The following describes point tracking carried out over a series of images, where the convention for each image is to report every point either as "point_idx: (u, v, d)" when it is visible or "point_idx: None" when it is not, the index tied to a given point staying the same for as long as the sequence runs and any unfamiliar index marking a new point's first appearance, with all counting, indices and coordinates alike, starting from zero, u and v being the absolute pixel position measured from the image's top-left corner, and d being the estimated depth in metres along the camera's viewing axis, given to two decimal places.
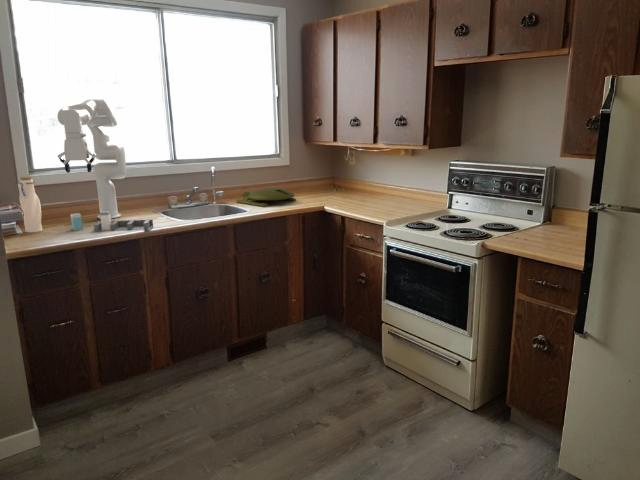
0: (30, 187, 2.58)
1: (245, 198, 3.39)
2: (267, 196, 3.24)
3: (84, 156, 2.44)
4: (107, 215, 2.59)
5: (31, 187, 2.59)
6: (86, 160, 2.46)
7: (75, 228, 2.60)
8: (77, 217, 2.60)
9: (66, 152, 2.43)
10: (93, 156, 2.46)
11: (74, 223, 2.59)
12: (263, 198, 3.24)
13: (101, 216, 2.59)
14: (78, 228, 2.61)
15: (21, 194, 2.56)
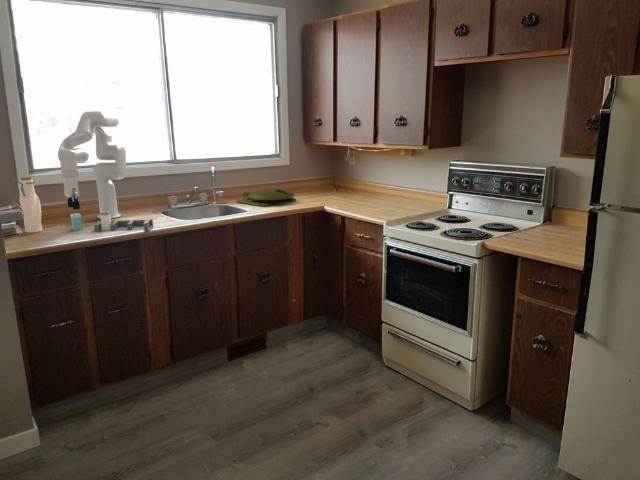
0: (30, 187, 2.58)
1: (245, 198, 3.39)
2: (266, 196, 3.24)
3: None
4: (107, 215, 2.59)
5: (31, 187, 2.59)
6: None
7: (75, 228, 2.60)
8: (77, 217, 2.60)
9: (78, 189, 2.56)
10: None
11: (74, 223, 2.59)
12: (263, 198, 3.24)
13: (101, 216, 2.59)
14: (78, 228, 2.61)
15: (21, 194, 2.56)
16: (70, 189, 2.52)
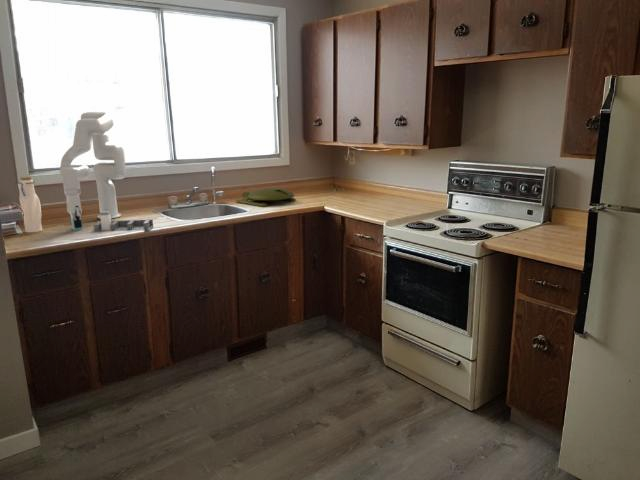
0: (30, 187, 2.58)
1: (245, 198, 3.39)
2: (266, 196, 3.24)
3: None
4: (107, 215, 2.59)
5: (31, 187, 2.59)
6: None
7: (75, 228, 2.60)
8: None
9: (80, 206, 2.58)
10: None
11: None
12: (262, 198, 3.24)
13: (101, 216, 2.59)
14: (78, 228, 2.61)
15: (21, 194, 2.56)
16: (73, 206, 2.55)
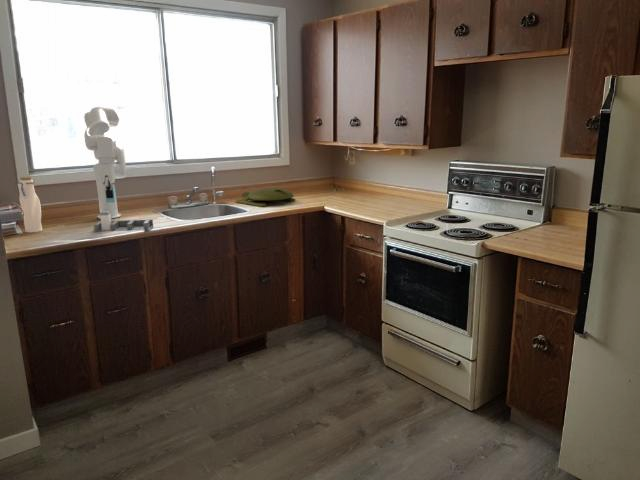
0: (30, 187, 2.58)
1: (244, 198, 3.38)
2: (265, 196, 3.24)
3: (114, 178, 2.62)
4: (107, 215, 2.59)
5: (31, 187, 2.59)
6: None
7: (107, 198, 2.58)
8: None
9: (111, 176, 2.54)
10: None
11: None
12: (262, 198, 3.24)
13: (101, 216, 2.59)
14: (110, 199, 2.58)
15: (21, 194, 2.56)
16: (102, 176, 2.52)
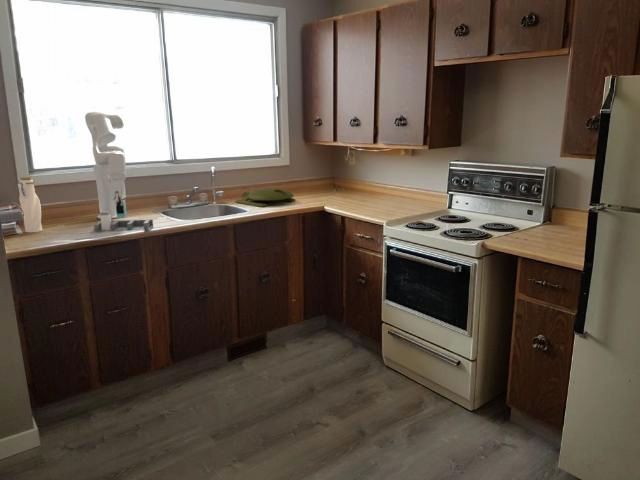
0: (30, 187, 2.58)
1: (244, 198, 3.38)
2: (265, 196, 3.24)
3: (125, 194, 2.64)
4: (107, 215, 2.59)
5: (31, 187, 2.59)
6: None
7: (117, 214, 2.60)
8: None
9: (121, 192, 2.56)
10: None
11: (116, 208, 2.59)
12: (261, 198, 3.23)
13: (101, 216, 2.59)
14: (121, 214, 2.60)
15: (21, 194, 2.56)
16: (113, 192, 2.54)
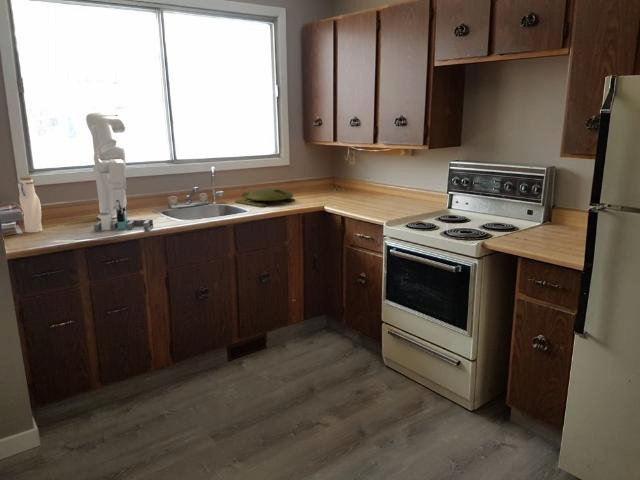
0: (30, 187, 2.58)
1: (244, 198, 3.38)
2: (264, 196, 3.23)
3: (126, 202, 2.65)
4: (107, 215, 2.59)
5: (31, 187, 2.59)
6: (125, 207, 2.65)
7: (118, 225, 2.61)
8: None
9: (122, 201, 2.57)
10: None
11: None
12: (261, 198, 3.23)
13: (101, 216, 2.59)
14: (122, 225, 2.62)
15: (21, 194, 2.56)
16: (114, 201, 2.55)
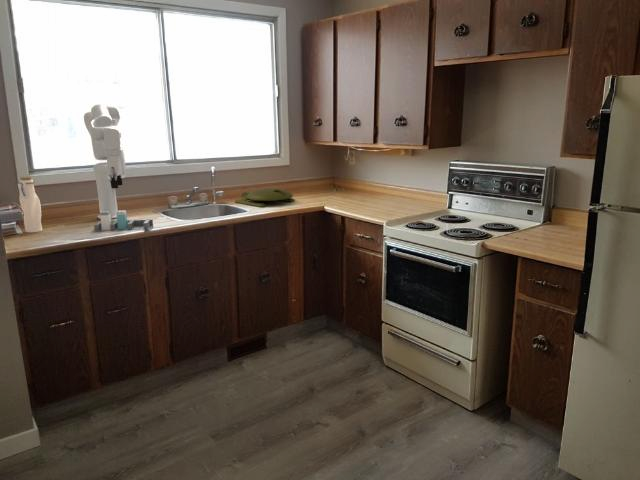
0: (30, 187, 2.58)
1: (243, 198, 3.38)
2: (264, 196, 3.23)
3: (121, 170, 2.62)
4: (107, 215, 2.59)
5: (31, 187, 2.59)
6: (120, 174, 2.63)
7: (118, 225, 2.61)
8: (121, 214, 2.60)
9: (117, 168, 2.54)
10: None
11: (118, 220, 2.61)
12: (260, 198, 3.23)
13: (101, 216, 2.59)
14: (122, 225, 2.62)
15: (21, 194, 2.56)
16: (108, 168, 2.52)
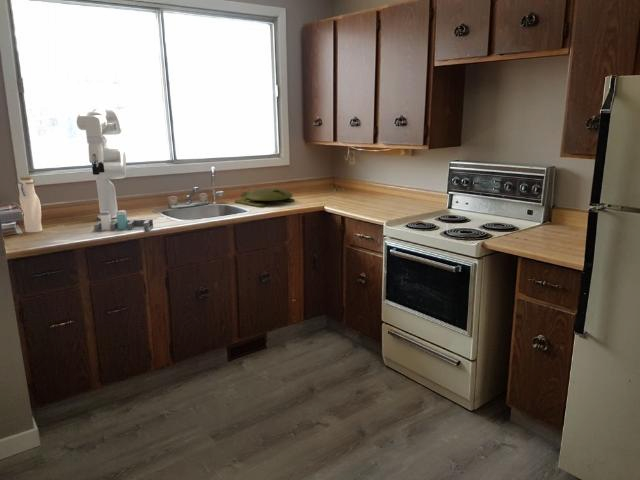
0: (30, 187, 2.58)
1: (243, 198, 3.38)
2: (263, 197, 3.23)
3: (103, 158, 2.69)
4: (107, 215, 2.59)
5: (31, 187, 2.59)
6: (102, 161, 2.70)
7: (118, 225, 2.61)
8: (121, 214, 2.60)
9: (99, 155, 2.61)
10: None
11: (118, 220, 2.61)
12: (260, 198, 3.23)
13: (101, 216, 2.59)
14: (122, 225, 2.62)
15: (21, 194, 2.56)
16: (90, 154, 2.60)
